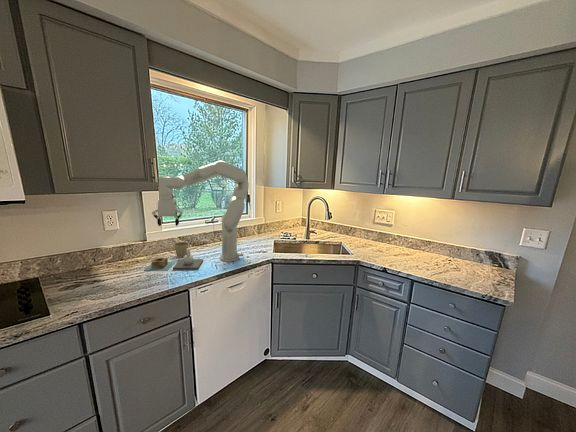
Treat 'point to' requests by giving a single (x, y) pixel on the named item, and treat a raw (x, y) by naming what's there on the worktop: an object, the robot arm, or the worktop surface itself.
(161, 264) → the walnut link
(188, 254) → the stand
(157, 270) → the mat
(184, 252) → the flower pot
